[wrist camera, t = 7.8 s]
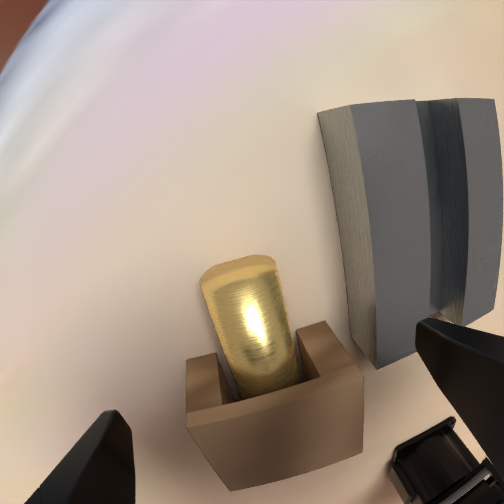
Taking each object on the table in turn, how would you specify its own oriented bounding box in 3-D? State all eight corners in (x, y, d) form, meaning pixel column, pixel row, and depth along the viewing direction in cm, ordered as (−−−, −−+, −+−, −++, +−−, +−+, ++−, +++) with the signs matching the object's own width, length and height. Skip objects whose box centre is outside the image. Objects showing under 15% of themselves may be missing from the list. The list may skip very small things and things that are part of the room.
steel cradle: (452, 100, 12) (494, 99, 10) (461, 288, 16) (493, 309, 13) (317, 112, 12) (349, 105, 9) (350, 335, 16) (376, 369, 13)
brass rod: (198, 268, 13) (201, 300, 11) (265, 248, 14) (285, 275, 11) (256, 427, 17) (267, 465, 14) (303, 413, 18) (319, 448, 15)
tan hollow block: (325, 320, 15) (363, 376, 11) (334, 399, 17) (362, 452, 13) (186, 359, 15) (186, 427, 10) (221, 431, 17) (229, 491, 13)
